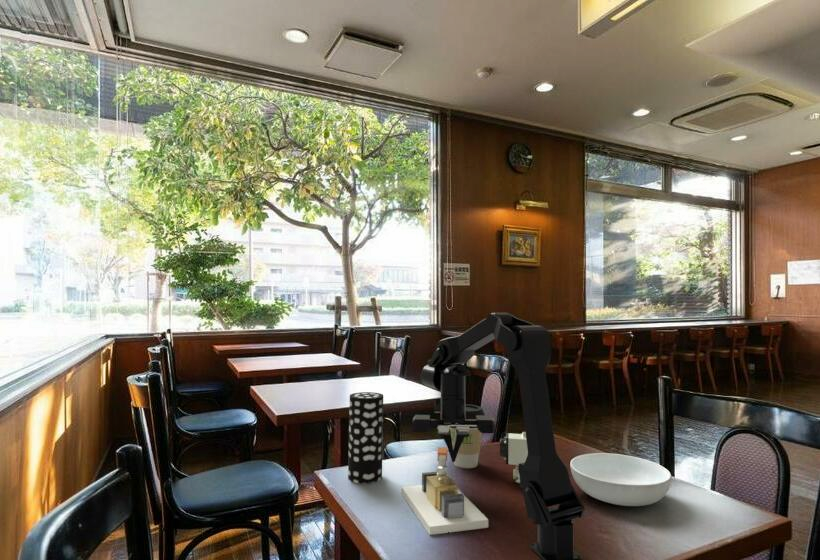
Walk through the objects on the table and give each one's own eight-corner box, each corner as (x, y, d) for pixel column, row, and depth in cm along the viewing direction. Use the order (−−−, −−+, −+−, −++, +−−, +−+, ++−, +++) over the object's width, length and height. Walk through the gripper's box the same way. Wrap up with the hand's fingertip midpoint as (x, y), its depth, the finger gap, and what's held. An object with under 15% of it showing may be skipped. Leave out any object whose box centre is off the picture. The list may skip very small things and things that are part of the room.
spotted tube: (341, 479, 119) (342, 396, 119) (360, 469, 126) (361, 391, 127) (370, 486, 115) (371, 400, 116) (388, 475, 122) (389, 394, 123)
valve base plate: (488, 527, 95) (488, 519, 95) (429, 535, 91) (429, 526, 91) (451, 488, 114) (451, 482, 114) (401, 493, 111) (401, 486, 111)
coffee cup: (442, 459, 134) (442, 404, 135) (474, 456, 137) (475, 403, 138) (456, 472, 125) (456, 412, 125) (490, 468, 128) (491, 410, 128)
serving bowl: (569, 476, 123) (569, 448, 124) (661, 487, 117) (661, 458, 117) (570, 509, 103) (570, 476, 104) (681, 525, 97) (681, 489, 97)
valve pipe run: (467, 517, 96) (467, 494, 96) (444, 519, 94) (444, 497, 95) (439, 486, 111) (439, 467, 111) (419, 488, 110) (419, 469, 110)
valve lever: (447, 481, 102) (447, 468, 102) (436, 481, 102) (436, 467, 102) (447, 459, 116) (447, 447, 116) (437, 458, 116) (438, 447, 116)
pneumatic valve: (549, 487, 115) (550, 436, 116) (499, 483, 118) (499, 433, 118) (548, 479, 121) (548, 430, 121) (500, 475, 123) (500, 427, 124)
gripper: (489, 387, 121) (489, 451, 121) (414, 387, 122) (414, 450, 122) (495, 396, 110) (495, 466, 110) (412, 395, 111) (412, 465, 111)
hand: (453, 461), depth 113 cm, fingers closed
